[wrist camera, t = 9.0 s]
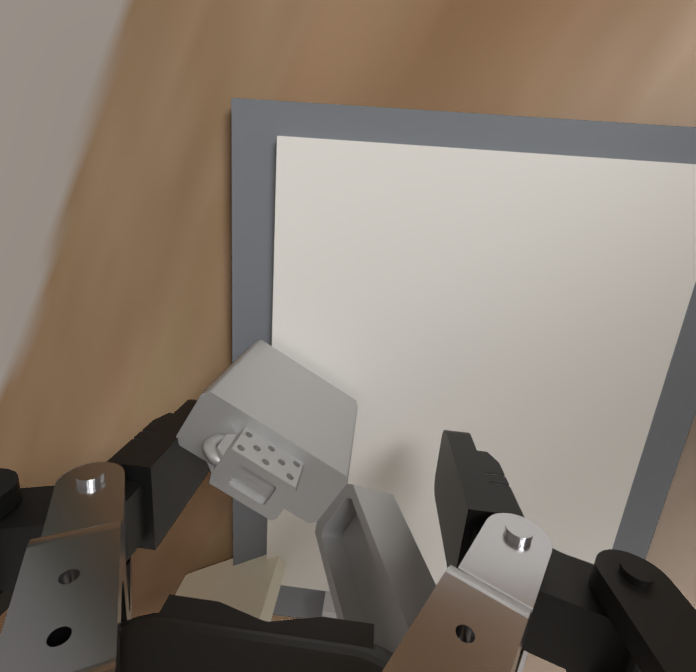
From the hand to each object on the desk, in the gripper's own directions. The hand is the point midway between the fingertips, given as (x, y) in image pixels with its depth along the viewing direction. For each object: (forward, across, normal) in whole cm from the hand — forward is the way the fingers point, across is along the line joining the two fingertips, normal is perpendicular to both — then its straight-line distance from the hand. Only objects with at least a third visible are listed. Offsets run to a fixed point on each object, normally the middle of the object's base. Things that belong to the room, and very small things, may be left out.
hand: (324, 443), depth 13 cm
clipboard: (+3, -4, 0) cm, 5 cm away
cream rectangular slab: (+3, +4, +8) cm, 10 cm away
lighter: (+2, 0, 0) cm, 2 cm away
